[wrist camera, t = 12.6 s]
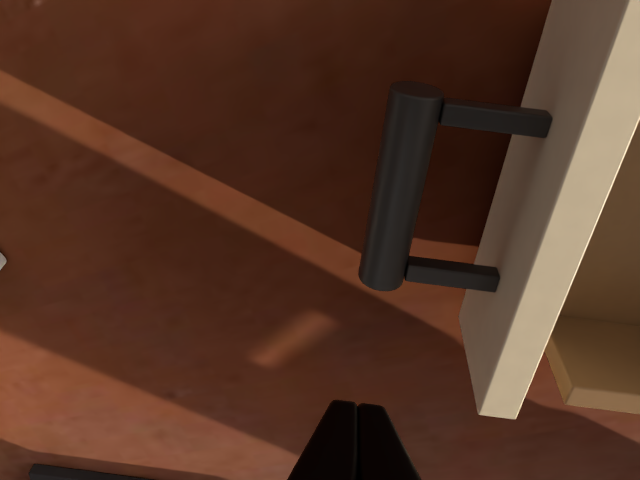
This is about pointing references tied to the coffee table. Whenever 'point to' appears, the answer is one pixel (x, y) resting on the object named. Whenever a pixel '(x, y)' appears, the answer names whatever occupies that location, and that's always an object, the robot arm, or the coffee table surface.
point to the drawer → (536, 216)
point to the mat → (72, 474)
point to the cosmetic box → (2, 261)
